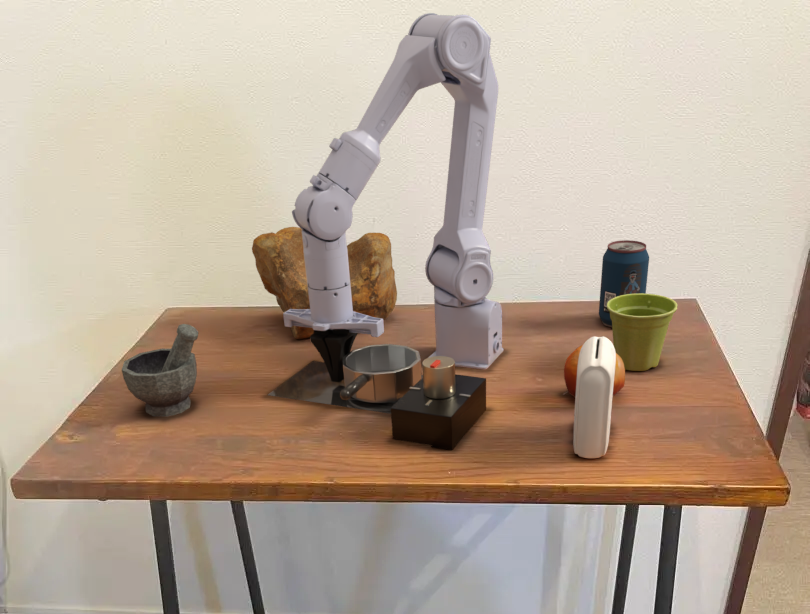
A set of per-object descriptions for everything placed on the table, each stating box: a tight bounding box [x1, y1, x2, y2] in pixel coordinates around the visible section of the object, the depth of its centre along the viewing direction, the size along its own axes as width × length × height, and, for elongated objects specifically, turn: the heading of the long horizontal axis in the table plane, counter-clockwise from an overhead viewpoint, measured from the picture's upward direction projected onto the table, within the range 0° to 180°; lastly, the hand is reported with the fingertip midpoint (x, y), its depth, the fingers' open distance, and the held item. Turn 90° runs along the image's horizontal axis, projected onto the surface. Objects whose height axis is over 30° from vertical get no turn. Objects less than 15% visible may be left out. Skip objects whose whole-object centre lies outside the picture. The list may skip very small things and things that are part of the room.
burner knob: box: [421, 356, 456, 399], centre depth 108 cm, size 4×4×4 cm
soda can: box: [598, 239, 650, 328], centre depth 136 cm, size 7×7×12 cm
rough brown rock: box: [251, 226, 398, 340], centre depth 140 cm, size 23×17×15 cm
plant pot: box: [607, 293, 678, 372], centre depth 122 cm, size 9×9×9 cm
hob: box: [267, 360, 423, 415], centre depth 123 cm, size 21×13×1 cm, turn 65°
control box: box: [390, 373, 487, 451], centre depth 110 cm, size 12×8×5 cm
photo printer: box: [572, 335, 616, 459], centre depth 103 cm, size 10×4×12 cm, turn 167°
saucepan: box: [340, 343, 422, 404], centre depth 117 cm, size 16×10×5 cm, turn 155°
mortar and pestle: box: [121, 323, 199, 418], centre depth 117 cm, size 11×9×12 cm
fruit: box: [562, 344, 626, 398], centre depth 115 cm, size 8×8×8 cm
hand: (338, 379), depth 123 cm, fingers closed
